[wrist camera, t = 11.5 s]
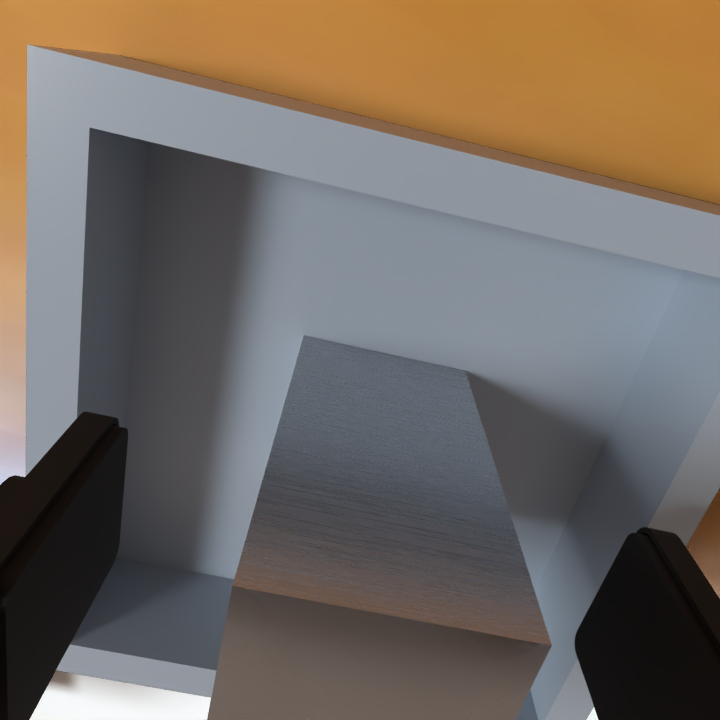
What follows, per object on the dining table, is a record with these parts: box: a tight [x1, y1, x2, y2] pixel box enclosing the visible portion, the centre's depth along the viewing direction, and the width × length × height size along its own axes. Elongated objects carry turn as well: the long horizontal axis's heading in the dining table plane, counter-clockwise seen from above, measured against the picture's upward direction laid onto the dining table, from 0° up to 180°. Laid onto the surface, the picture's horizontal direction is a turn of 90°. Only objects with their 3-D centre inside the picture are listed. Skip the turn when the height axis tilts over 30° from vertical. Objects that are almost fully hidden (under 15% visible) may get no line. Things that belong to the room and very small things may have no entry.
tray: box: [26, 44, 720, 720], centre depth 14 cm, size 14×14×4 cm
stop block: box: [207, 335, 552, 720], centre depth 12 cm, size 4×4×8 cm
